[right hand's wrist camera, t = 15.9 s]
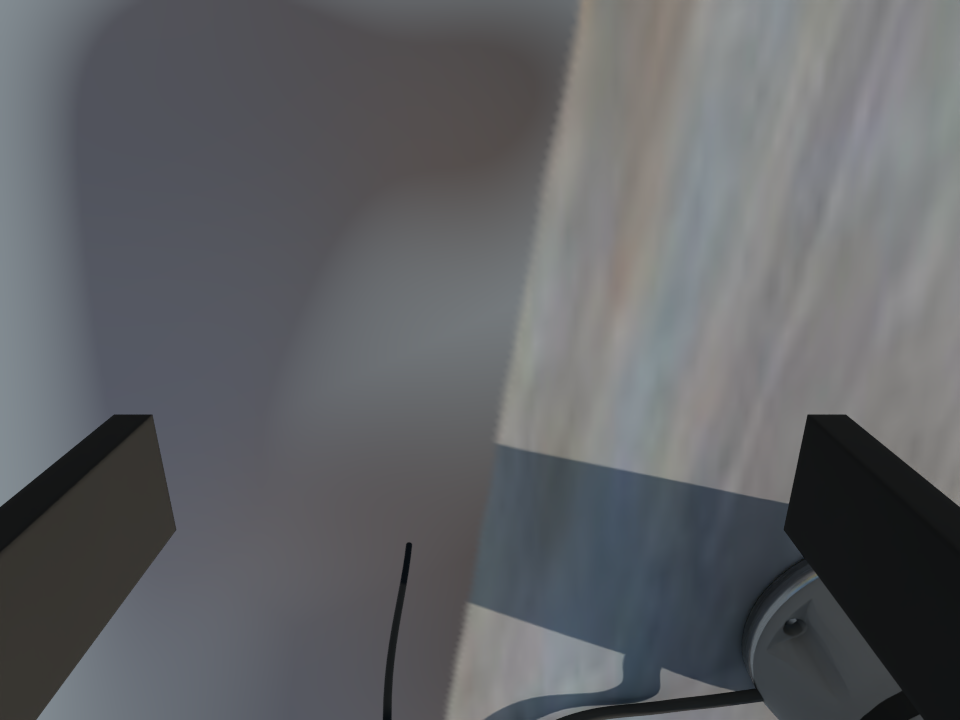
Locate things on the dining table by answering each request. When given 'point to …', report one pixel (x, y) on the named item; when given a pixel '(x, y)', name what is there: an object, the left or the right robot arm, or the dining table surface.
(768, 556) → the dining table surface
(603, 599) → the dining table surface
